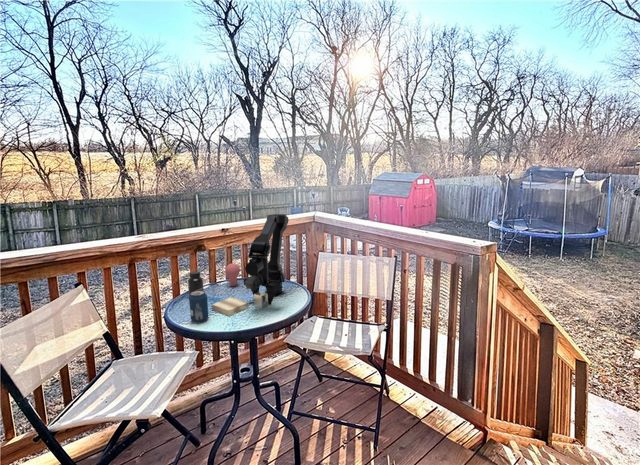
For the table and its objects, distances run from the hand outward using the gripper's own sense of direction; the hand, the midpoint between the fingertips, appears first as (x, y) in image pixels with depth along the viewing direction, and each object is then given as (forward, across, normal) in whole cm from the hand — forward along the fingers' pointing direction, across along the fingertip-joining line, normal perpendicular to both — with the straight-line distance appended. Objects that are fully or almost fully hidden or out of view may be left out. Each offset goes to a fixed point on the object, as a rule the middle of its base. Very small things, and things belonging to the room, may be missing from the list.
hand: (263, 302), depth 168 cm
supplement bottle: (+2, -34, -11) cm, 36 cm away
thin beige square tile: (+2, -9, -11) cm, 14 cm away
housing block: (+2, 0, 0) cm, 2 cm away
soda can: (+2, -10, -26) cm, 28 cm away
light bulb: (+2, -31, +9) cm, 32 cm away
